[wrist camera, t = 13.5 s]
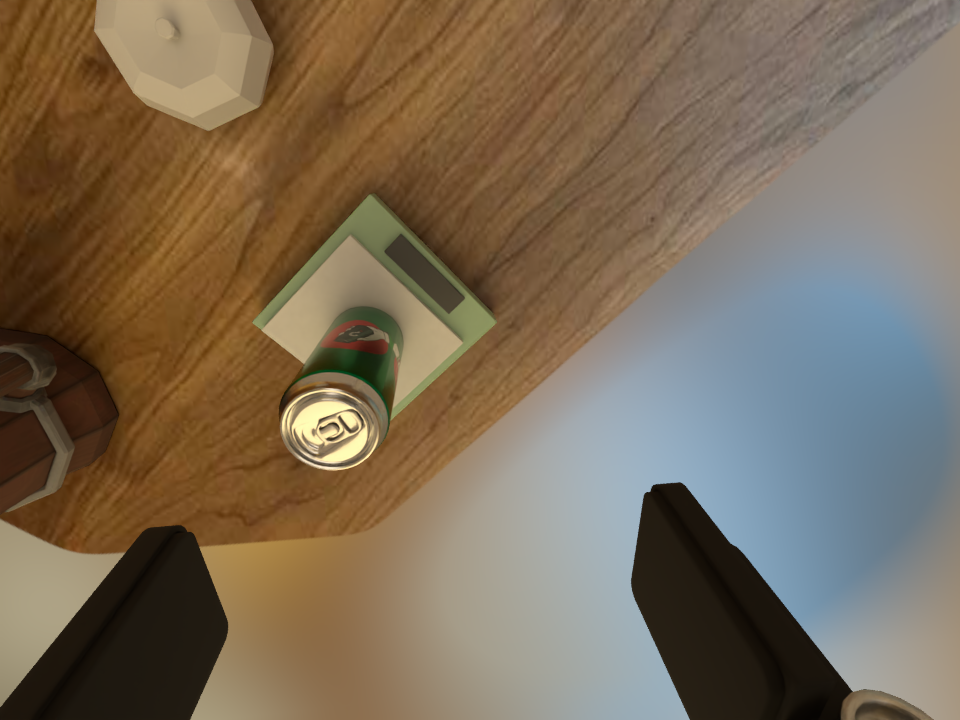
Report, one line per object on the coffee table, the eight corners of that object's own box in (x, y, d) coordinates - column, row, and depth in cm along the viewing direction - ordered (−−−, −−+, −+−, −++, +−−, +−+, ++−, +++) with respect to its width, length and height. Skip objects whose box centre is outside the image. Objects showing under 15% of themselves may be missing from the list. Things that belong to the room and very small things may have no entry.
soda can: (315, 324, 30) (245, 412, 19) (379, 290, 29) (346, 360, 18) (356, 383, 32) (315, 493, 21) (417, 352, 31) (408, 448, 20)
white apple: (244, 165, 28) (193, 163, 22) (124, 58, 25) (28, 23, 19) (324, 63, 26) (291, 31, 20) (204, -62, 24) (127, -142, 18)
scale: (373, 192, 29) (368, 193, 27) (494, 314, 34) (498, 325, 31) (261, 314, 32) (247, 325, 30) (386, 413, 36) (383, 430, 34)
